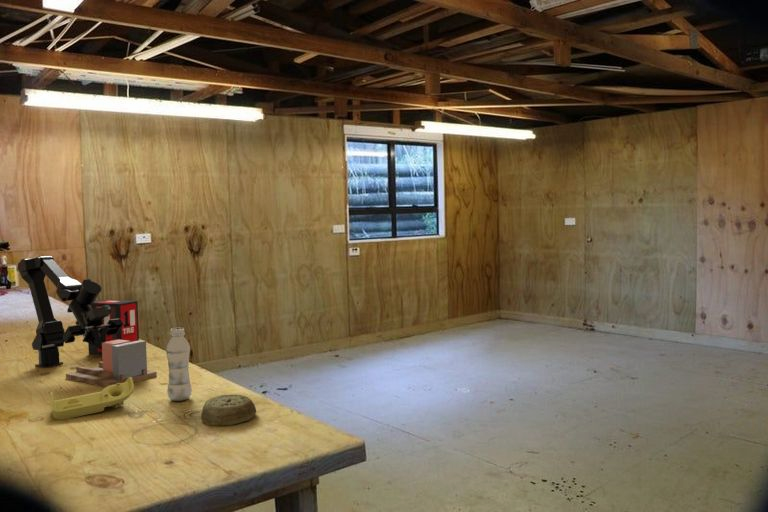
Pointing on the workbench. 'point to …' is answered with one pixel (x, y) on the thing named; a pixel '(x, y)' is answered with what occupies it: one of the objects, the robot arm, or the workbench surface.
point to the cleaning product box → (124, 312)
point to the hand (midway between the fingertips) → (105, 350)
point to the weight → (227, 410)
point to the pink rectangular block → (109, 353)
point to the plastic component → (92, 401)
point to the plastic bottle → (178, 366)
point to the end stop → (129, 359)
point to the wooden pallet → (103, 376)
